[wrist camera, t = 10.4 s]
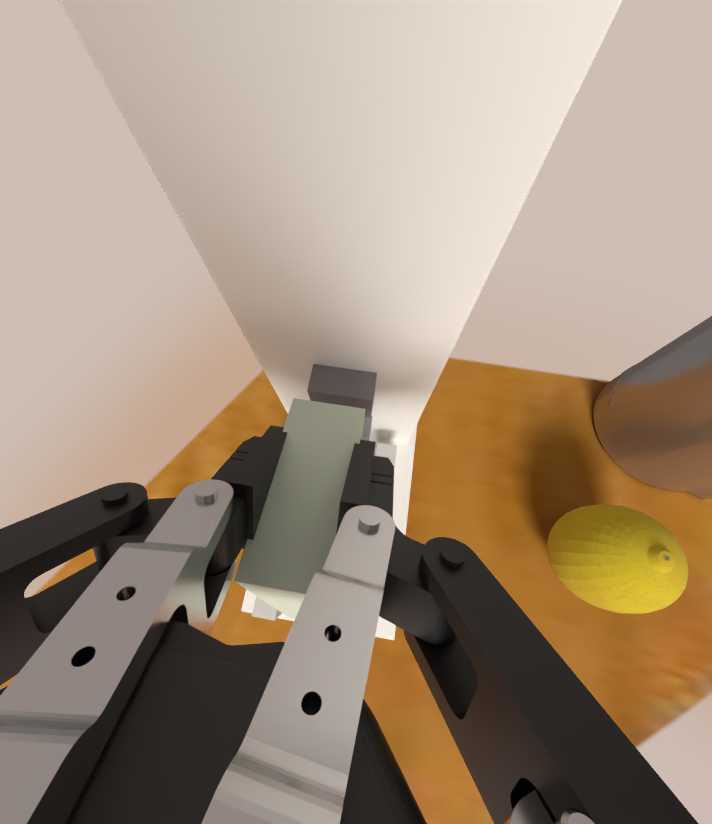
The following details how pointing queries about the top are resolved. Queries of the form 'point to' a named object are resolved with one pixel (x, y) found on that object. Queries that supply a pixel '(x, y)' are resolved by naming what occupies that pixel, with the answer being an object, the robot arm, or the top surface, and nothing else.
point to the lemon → (617, 559)
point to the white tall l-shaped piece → (347, 172)
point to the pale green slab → (301, 504)
